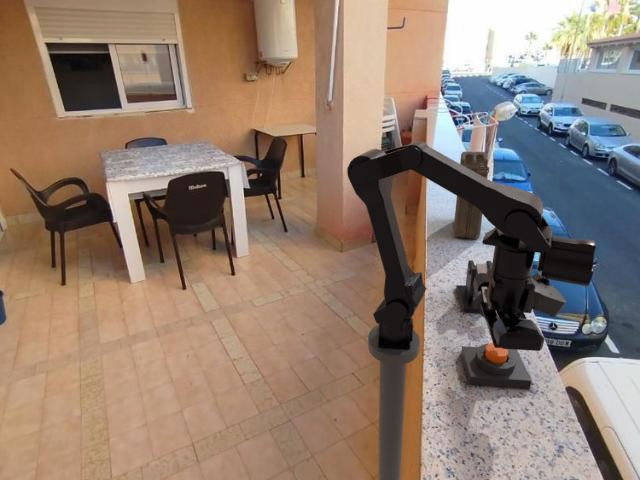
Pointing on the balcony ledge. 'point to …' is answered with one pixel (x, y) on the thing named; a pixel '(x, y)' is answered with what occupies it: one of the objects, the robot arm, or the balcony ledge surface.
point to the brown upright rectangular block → (466, 213)
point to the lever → (482, 269)
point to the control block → (495, 369)
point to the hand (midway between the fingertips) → (497, 346)
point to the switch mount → (470, 290)
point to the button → (496, 354)
